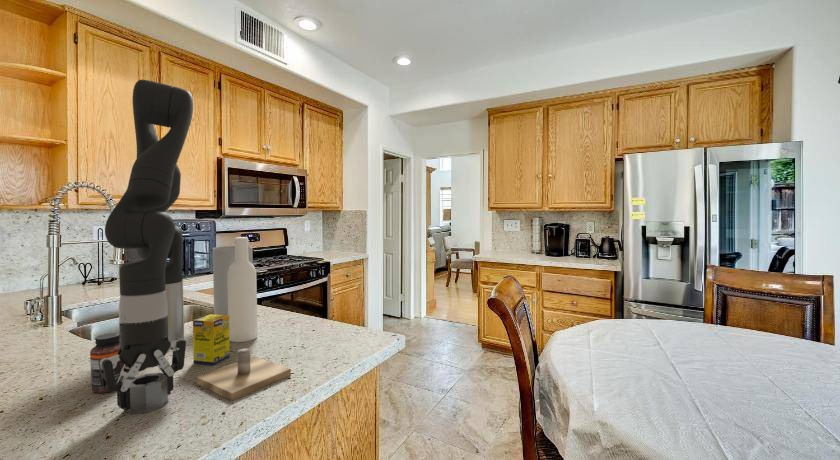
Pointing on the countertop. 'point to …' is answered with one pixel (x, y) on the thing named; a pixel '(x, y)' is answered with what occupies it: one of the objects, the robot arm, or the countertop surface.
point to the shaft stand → (242, 376)
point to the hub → (148, 393)
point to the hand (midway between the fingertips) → (146, 401)
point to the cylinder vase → (223, 275)
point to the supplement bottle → (104, 349)
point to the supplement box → (211, 339)
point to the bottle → (242, 295)
